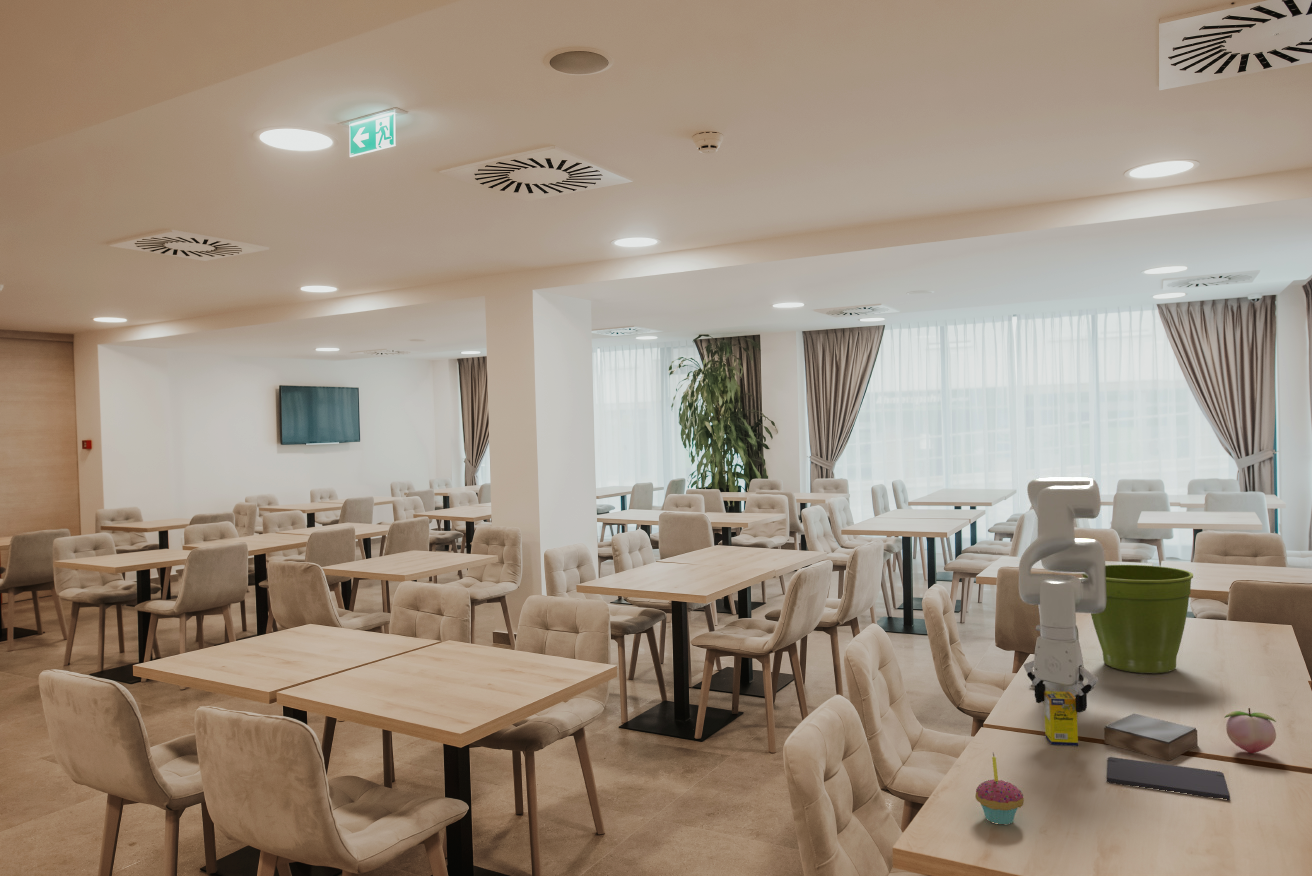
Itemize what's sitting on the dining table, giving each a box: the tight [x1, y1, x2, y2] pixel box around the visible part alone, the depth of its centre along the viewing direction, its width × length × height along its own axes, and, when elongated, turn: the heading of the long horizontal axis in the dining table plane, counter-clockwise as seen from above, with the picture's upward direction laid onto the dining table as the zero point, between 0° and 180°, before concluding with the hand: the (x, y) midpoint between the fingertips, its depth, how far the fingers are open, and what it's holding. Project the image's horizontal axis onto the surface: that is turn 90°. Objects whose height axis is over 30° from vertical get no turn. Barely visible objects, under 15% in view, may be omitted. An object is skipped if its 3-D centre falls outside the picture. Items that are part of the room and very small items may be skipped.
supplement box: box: [1043, 691, 1079, 747], centre depth 200 cm, size 6×6×11 cm
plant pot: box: [1080, 564, 1194, 674], centre depth 259 cm, size 30×30×29 cm
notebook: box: [1106, 756, 1231, 801], centre depth 177 cm, size 13×2×21 cm
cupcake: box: [975, 752, 1025, 825], centre depth 162 cm, size 9×8×12 cm
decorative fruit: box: [1224, 707, 1277, 754], centre depth 190 cm, size 9×8×10 cm
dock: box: [1103, 713, 1199, 762], centre depth 197 cm, size 14×14×4 cm
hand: (1060, 706), depth 200 cm, fingers open, 9 cm apart
